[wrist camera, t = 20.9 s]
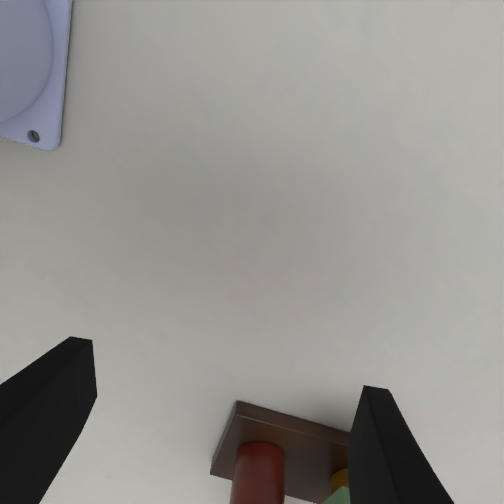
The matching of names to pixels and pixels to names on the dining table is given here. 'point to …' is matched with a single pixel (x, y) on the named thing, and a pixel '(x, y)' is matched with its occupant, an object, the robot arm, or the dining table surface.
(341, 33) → the dining table surface
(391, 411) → the robot arm
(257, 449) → the rod stand
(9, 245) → the dining table surface
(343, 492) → the bar
